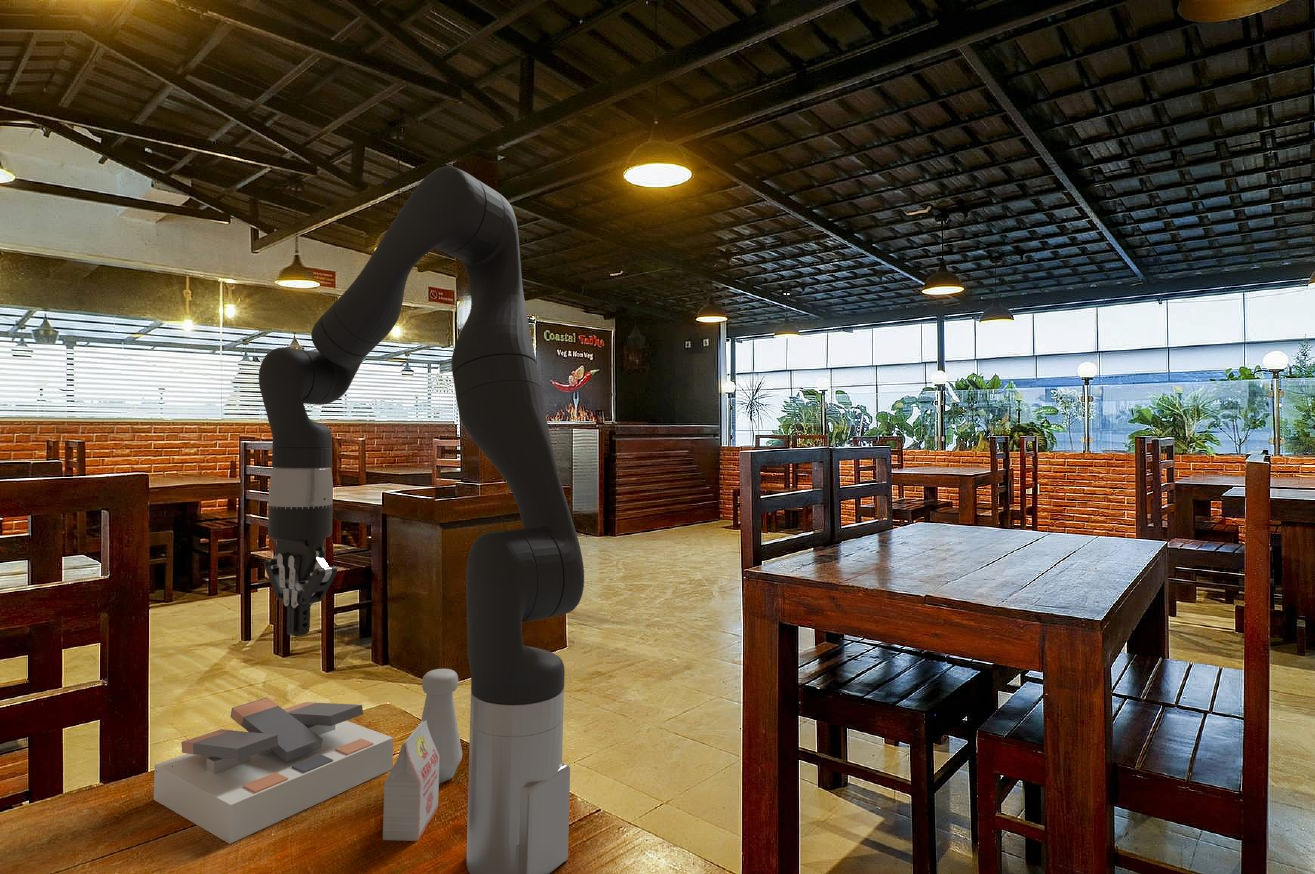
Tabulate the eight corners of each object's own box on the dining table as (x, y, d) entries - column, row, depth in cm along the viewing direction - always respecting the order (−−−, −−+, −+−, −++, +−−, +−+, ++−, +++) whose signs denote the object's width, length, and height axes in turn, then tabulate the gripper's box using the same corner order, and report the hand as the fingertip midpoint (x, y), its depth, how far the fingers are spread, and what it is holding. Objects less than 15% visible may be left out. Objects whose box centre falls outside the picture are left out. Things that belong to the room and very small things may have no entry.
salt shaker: (453, 788, 86) (456, 680, 86) (406, 786, 86) (409, 678, 86) (467, 766, 92) (469, 665, 92) (423, 764, 92) (425, 663, 92)
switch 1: (278, 745, 80) (277, 734, 81) (238, 760, 77) (237, 748, 77) (221, 739, 87) (220, 729, 87) (182, 752, 83) (181, 741, 83)
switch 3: (363, 714, 90) (362, 704, 90) (331, 726, 86) (330, 715, 86) (306, 711, 96) (305, 702, 96) (274, 722, 92) (273, 712, 92)
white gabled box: (382, 840, 75) (385, 744, 75) (405, 806, 81) (408, 719, 82) (417, 841, 75) (420, 745, 75) (438, 807, 81) (440, 720, 81)
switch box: (392, 769, 90) (393, 726, 90) (229, 844, 73) (231, 791, 73) (315, 738, 99) (316, 699, 99) (153, 799, 81) (154, 752, 81)
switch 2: (321, 748, 85) (322, 738, 85) (285, 762, 82) (287, 752, 81) (265, 706, 91) (267, 697, 91) (230, 717, 88) (231, 707, 88)
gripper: (358, 503, 93) (355, 636, 93) (298, 497, 100) (295, 621, 100) (304, 507, 87) (301, 649, 87) (244, 500, 94) (240, 633, 93)
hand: (298, 634), depth 93 cm, fingers closed
